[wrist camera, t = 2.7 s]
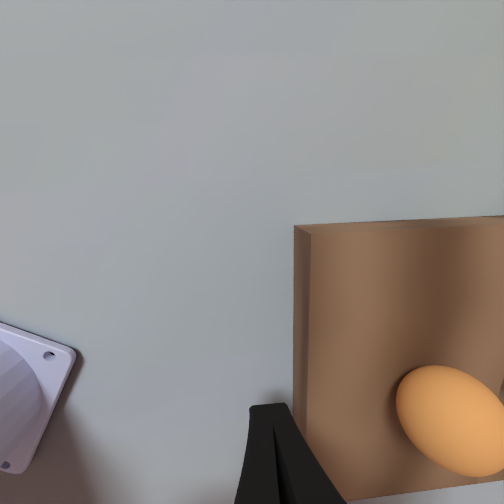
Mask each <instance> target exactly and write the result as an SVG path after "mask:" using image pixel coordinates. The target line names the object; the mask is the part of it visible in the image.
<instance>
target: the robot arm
mask: <svg viewBox="0 0 504 504" xmlns="http://www.w3.org/2000/svg"><path fill="white" fill-rule="evenodd" d="M50 352H52V353H54V355H55V356H54V355H52V354H50ZM75 359H76V353H75V351H74V350H73V349H71V348H69V347H67V346H64V345H62V344H59V343H56V342H53V341H50V340H48V339H45V338H42V337H39V336H36V335H34V334H31V333H28V332H25V331H23V330H20V329H17V328H14V327H11V326H9V325H6V324H3V323H0V471H3V472H7V473H11V474H20V473H22V472H24V471H25V470H26V469H27V467H28V466H29V464H30V463H31V461H32V458H33V456H34V454H35V452H36V449H37V447H38V445H39V442H40V440H41V438H42V435H43V433H44V431H45V429H46V426H47V424H48V422H49V419H50V417H51V415H52V412H53V410H54V408H55V406H56V403H57V401H58V399H59V396H60V394H61V392H62V389H63V387H64V385H65V383H66V380H67V378H68V376H69V373H70V371H71V369H72V366H73V364H74V362H75ZM249 412H250V419H249V432H248V439H247V446H246V451H245V457H244V462H243V468H242V472H241V477H240V481H239V485H238V489H237V494H236V498H235V502H234V504H347V503H346V502H345V500H344V499H343V498H342V496H341V495H340V493H339V492H338V490H337V489H336V488H335V486H334V485H333V483H332V482H331V480H330V479H329V477H328V476H327V474H326V473H325V471H324V470H323V468H322V467H321V465H320V464H319V462H318V460H317V459H316V457H315V456H314V454H313V452H312V451H311V449H310V448H309V446H308V444H307V442H306V441H305V439H304V437H303V436H302V434H301V432H300V430H299V428H298V427H297V425H296V423H295V421H294V419H293V417H292V415H291V413H290V411H289V409H288V406H287V405H286V404H285V403H274V404H264V405H253V406H251V407H250V408H249Z"/></svg>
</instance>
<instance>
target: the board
mask: <svg viewBox="0 0 504 504" xmlns="http://www.w3.org/2000/svg"><path fill="white" fill-rule="evenodd" d="M429 365H440V366H447V367H451V368H455V369H457V370H460V371H462V372H465V373H467V374H469V375H471V376H472V377H474V378H476V379H477V380H479V381H480V382H481V383H483V384H484V385H485V386H486V387H487V388H489V389H490V390H491V391H492V392H493V393H494V394H495V395H496V397H497V398H498V399H499V400H500V402H501V403H502V404H503V406H504V215H502V216H481V217H460V218H439V219H418V220H396V221H375V222H354V223H333V224H312V225H294V323H293V419H294V421H295V423H296V425H297V427H298V428H299V430H300V432H301V434H302V436H303V437H304V439H305V441H306V442H307V444H308V446H309V448H310V449H311V451H312V452H313V454H314V456H315V457H316V459H317V460H318V462H319V464H320V465H321V467H322V468H323V470H324V471H325V473H326V474H327V476H328V477H329V479H330V480H331V482H332V483H333V485H334V486H335V488H336V489H337V490H338V492H339V493H340V495H341V496H342V498H343V499H344V500H345V501H352V500H359V499H366V498H374V497H381V496H389V495H396V494H404V493H411V492H418V491H426V490H433V489H441V488H448V487H456V486H463V485H470V484H478V483H485V482H493V481H500V480H504V468H503V469H502V470H501V471H499V472H497V473H495V474H492V475H489V476H484V477H469V476H464V475H459V474H456V473H453V472H451V471H448V470H446V469H444V468H442V467H440V466H439V465H437V464H436V463H434V462H432V461H431V460H430V459H428V458H427V457H426V456H425V455H424V454H423V453H421V452H420V451H419V450H418V449H417V448H416V447H415V445H414V444H413V443H412V442H411V440H410V439H409V437H408V436H407V434H406V433H405V431H404V429H403V427H402V425H401V423H400V420H399V417H398V414H397V409H396V395H397V390H398V387H399V385H400V383H401V381H402V380H403V378H404V377H405V376H406V375H407V374H408V373H410V372H411V371H413V370H415V369H417V368H420V367H423V366H429Z"/></svg>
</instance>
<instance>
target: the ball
mask: <svg viewBox="0 0 504 504" xmlns="http://www.w3.org/2000/svg"><path fill="white" fill-rule="evenodd" d="M396 409H397V414H398V417H399V420H400V423H401V425H402V427H403V429H404V431H405V433H406V434H407V436H408V437H409V439H410V440H411V442H412V443H413V444H414V445H415V447H416V448H417V449H418V450H419V451H420V452H421V453H423V454H424V455H425V456H426V457H427V458H428V459H430V460H431V461H432V462H434V463H436V464H437V465H439V466H440V467H442V468H444V469H446V470H448V471H451V472H453V473H456V474H459V475H464V476H469V477H484V476H489V475H492V474H495V473H497V472H499V471H501V470H502V469H503V468H504V406H503V404H502V403H501V402H500V400H499V399H498V398H497V397H496V395H495V394H494V393H493V392H492V391H491V390H490V389H489V388H487V387H486V386H485V385H484V384H483V383H481V382H480V381H479V380H477V379H476V378H474V377H472V376H471V375H469V374H467V373H465V372H462V371H460V370H457V369H455V368H451V367H447V366H440V365H429V366H423V367H420V368H417V369H415V370H413V371H411V372H410V373H408V374H407V375H406V376H405V377H404V378H403V380H402V381H401V383H400V385H399V387H398V390H397V395H396Z"/></svg>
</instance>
